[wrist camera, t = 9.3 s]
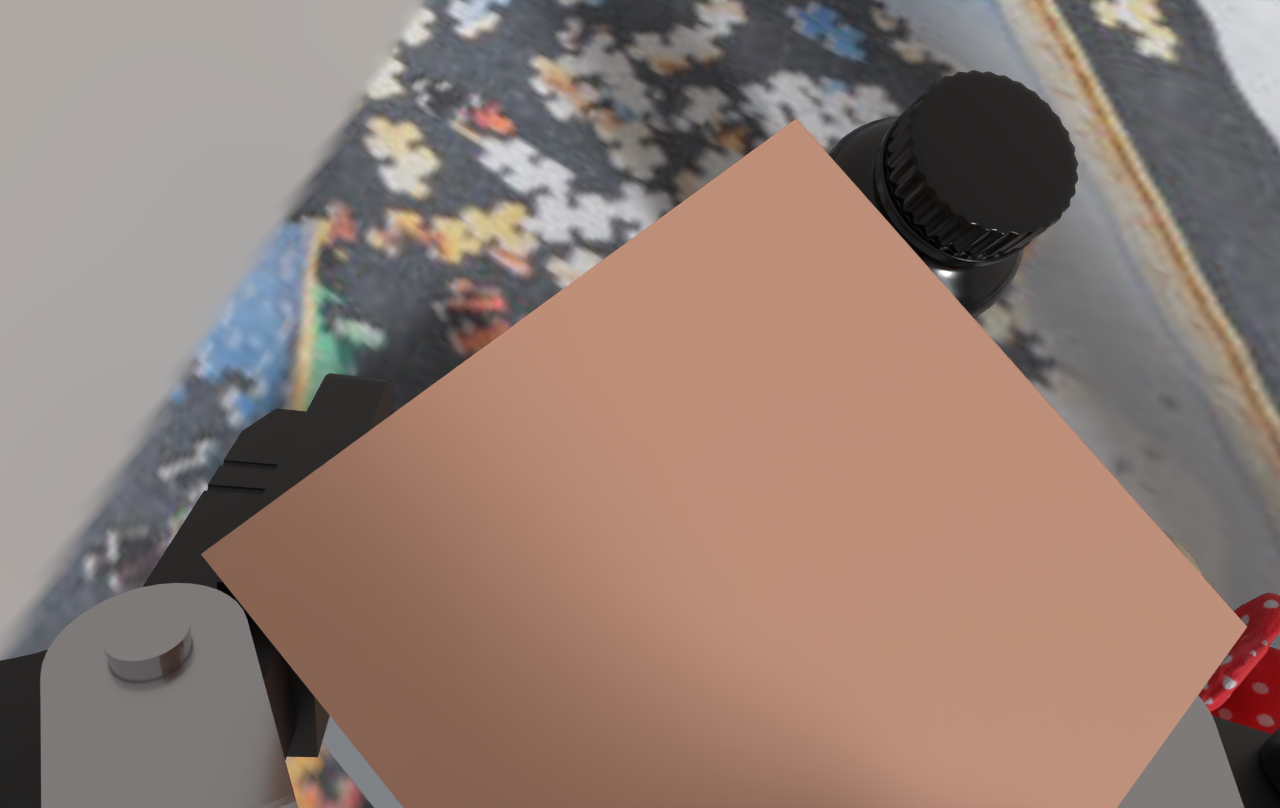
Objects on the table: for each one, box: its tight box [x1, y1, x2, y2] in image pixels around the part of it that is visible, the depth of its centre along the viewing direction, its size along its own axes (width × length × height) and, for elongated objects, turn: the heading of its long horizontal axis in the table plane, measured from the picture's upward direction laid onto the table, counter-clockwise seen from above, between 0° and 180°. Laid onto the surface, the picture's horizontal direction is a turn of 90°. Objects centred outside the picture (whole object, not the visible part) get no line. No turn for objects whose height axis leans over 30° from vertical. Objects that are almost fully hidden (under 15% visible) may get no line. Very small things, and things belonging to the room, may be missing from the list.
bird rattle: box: [1162, 530, 1280, 734], centre depth 25 cm, size 6×11×9 cm
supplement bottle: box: [828, 70, 1078, 318], centre depth 25 cm, size 7×7×12 cm
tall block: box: [201, 119, 1247, 808], centre depth 9 cm, size 4×4×10 cm
